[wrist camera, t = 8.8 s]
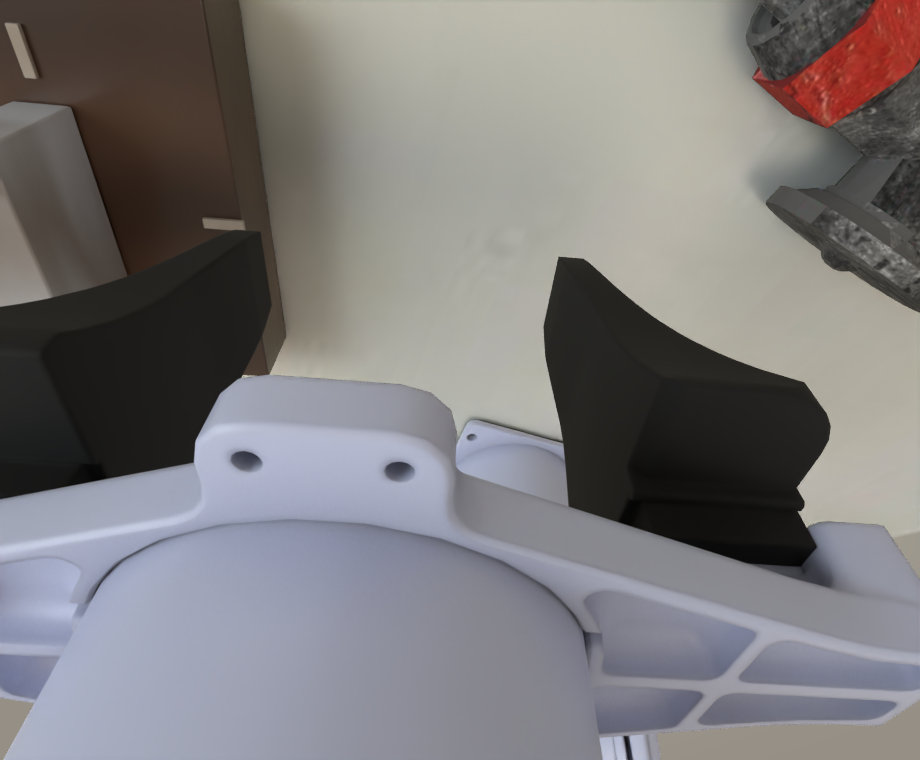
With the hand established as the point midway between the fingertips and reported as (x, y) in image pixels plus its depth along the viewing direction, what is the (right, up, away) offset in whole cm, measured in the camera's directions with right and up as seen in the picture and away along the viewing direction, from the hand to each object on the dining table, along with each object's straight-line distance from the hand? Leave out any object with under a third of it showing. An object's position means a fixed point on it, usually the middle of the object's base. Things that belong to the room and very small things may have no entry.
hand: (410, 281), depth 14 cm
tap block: (-12, +5, +8) cm, 15 cm away
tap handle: (-12, +3, +6) cm, 14 cm away
